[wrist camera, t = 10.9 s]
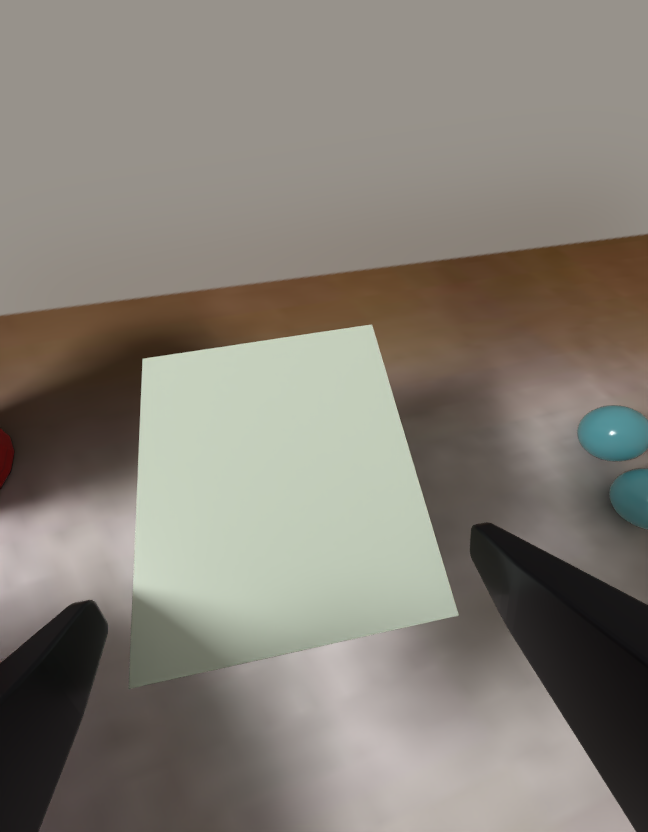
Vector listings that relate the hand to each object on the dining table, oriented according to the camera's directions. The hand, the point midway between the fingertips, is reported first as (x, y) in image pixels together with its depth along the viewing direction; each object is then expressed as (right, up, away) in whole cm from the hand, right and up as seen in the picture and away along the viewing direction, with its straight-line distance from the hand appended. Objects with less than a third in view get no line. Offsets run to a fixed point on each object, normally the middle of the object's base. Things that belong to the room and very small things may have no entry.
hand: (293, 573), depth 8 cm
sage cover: (-1, -1, +9) cm, 9 cm away
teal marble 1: (+16, +2, +11) cm, 20 cm away
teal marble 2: (+17, -1, +10) cm, 19 cm away
